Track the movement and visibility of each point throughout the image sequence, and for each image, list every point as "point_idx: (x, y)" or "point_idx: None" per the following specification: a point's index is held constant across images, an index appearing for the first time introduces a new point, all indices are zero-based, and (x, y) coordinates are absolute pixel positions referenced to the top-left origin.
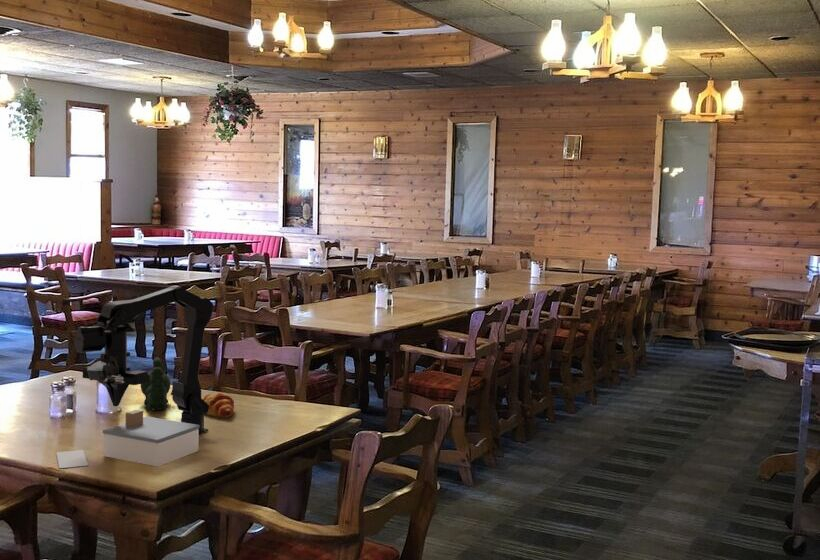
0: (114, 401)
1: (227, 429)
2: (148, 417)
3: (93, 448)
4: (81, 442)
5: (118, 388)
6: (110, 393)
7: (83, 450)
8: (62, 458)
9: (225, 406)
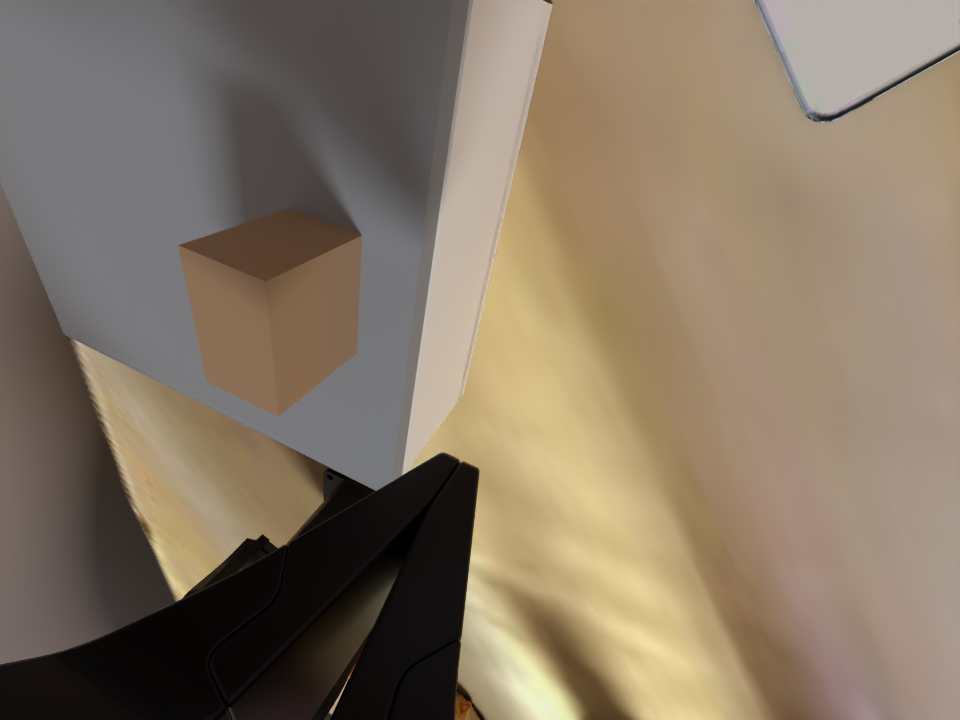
0: (417, 496)
1: (296, 531)
2: (367, 475)
3: (733, 203)
4: (907, 347)
5: (67, 656)
6: (405, 639)
7: (808, 102)
8: None
9: (350, 674)
